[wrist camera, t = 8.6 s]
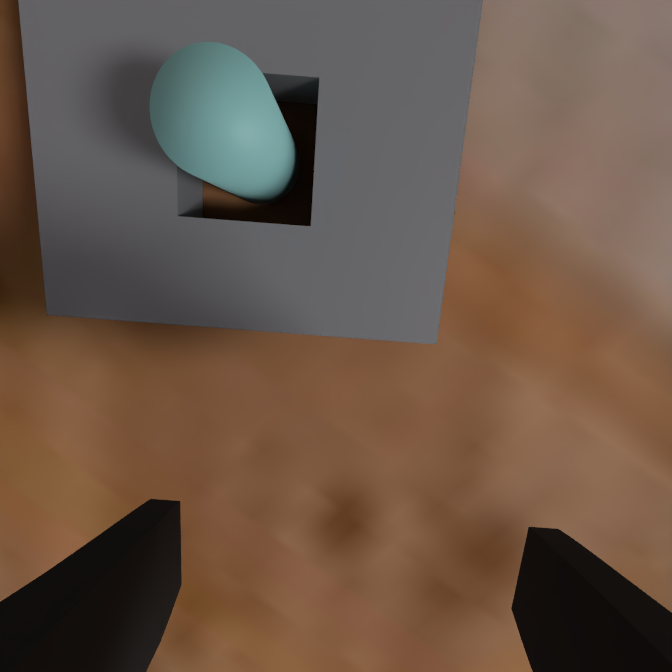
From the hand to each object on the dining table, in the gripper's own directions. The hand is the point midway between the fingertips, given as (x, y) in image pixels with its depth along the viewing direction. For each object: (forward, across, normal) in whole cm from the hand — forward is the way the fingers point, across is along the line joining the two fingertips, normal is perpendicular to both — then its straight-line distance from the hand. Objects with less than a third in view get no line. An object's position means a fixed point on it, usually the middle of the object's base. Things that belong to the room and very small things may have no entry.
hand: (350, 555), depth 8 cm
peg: (+9, +4, -9) cm, 14 cm away
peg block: (+9, +4, -9) cm, 14 cm away
